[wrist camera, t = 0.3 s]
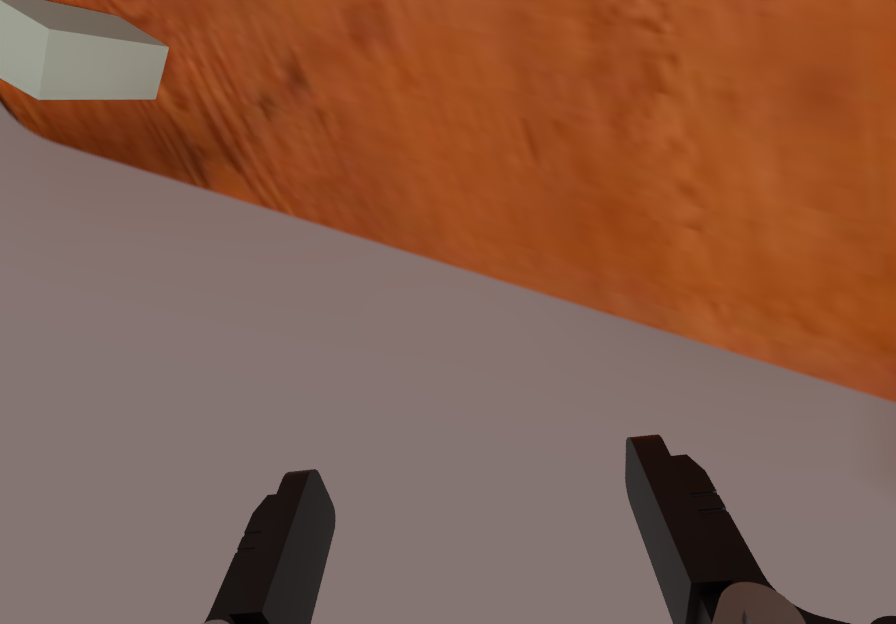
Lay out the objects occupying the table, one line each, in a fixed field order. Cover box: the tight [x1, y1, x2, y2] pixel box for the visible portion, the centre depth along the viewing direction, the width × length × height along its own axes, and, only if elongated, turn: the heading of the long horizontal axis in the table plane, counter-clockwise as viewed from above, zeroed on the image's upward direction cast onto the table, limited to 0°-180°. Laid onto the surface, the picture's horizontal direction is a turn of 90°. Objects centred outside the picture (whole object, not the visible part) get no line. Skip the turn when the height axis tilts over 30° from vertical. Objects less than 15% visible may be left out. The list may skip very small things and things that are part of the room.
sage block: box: [0, 0, 169, 100], centre depth 31 cm, size 4×4×10 cm
